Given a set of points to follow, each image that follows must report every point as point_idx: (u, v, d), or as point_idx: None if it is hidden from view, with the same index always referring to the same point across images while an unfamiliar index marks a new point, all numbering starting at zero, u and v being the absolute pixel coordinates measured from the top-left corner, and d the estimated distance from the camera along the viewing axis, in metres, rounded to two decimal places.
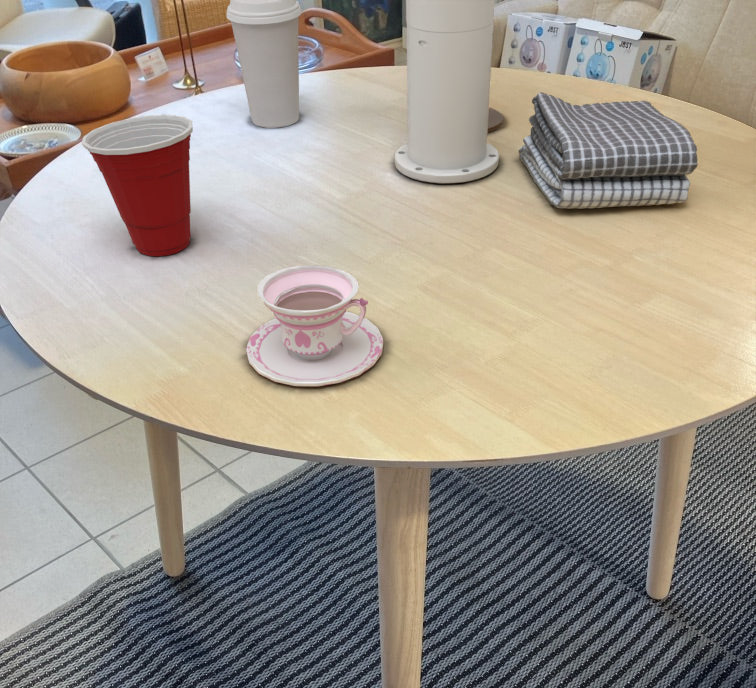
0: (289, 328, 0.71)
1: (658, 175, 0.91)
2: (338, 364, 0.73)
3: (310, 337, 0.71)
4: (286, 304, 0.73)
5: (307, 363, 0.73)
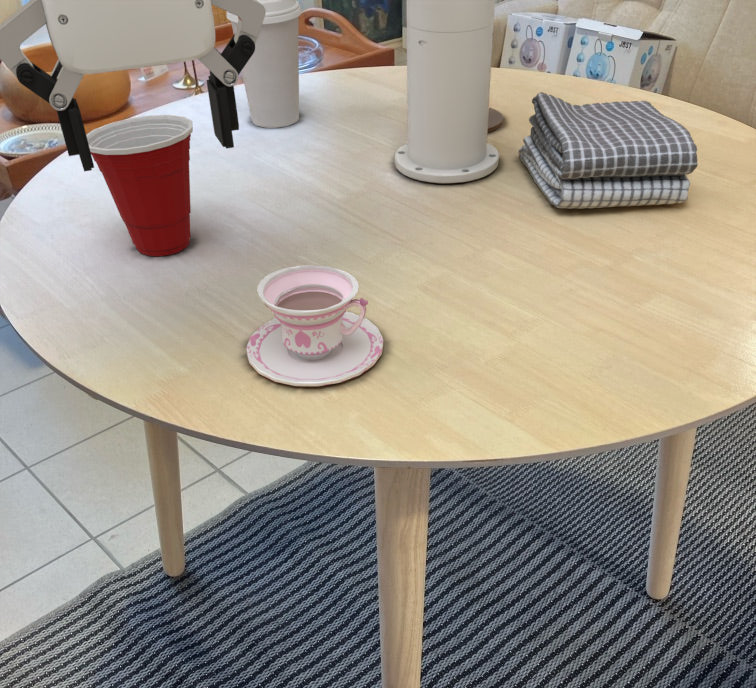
0: (289, 328, 0.71)
1: (658, 175, 0.91)
2: (338, 364, 0.73)
3: (310, 337, 0.71)
4: (286, 304, 0.73)
5: (307, 363, 0.73)
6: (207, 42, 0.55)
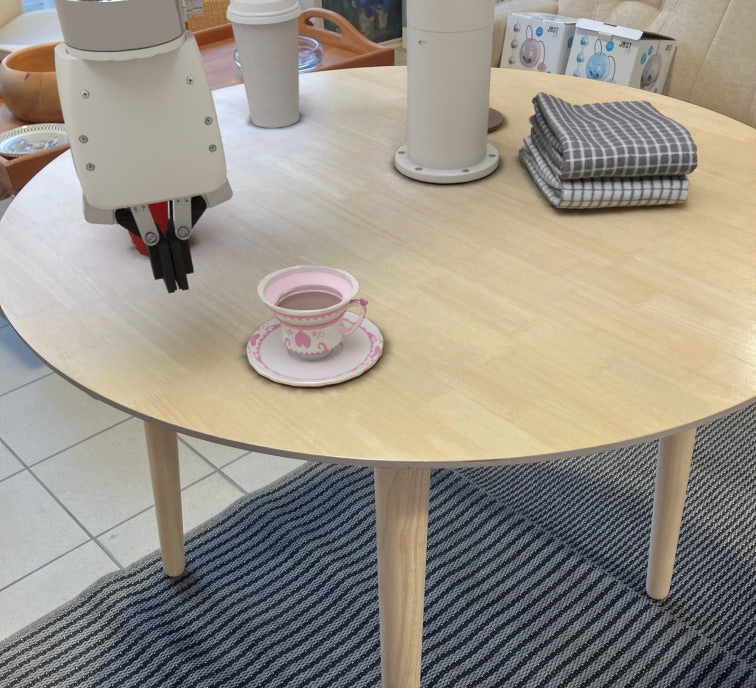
0: (289, 328, 0.71)
1: (658, 175, 0.91)
2: (338, 364, 0.73)
3: (310, 337, 0.71)
4: (286, 304, 0.73)
5: (307, 363, 0.73)
6: (219, 179, 0.61)
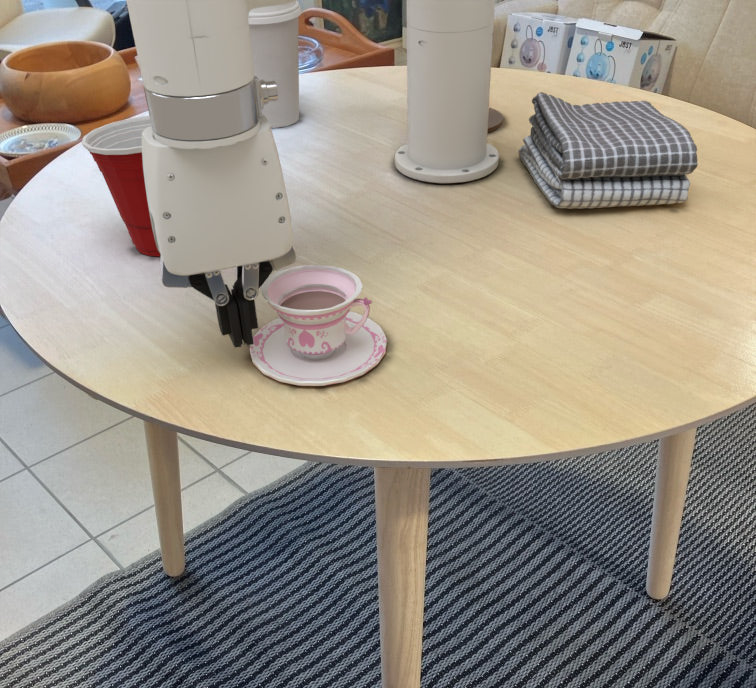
0: (293, 328, 0.71)
1: (658, 175, 0.91)
2: (341, 363, 0.73)
3: (314, 337, 0.71)
4: (289, 304, 0.73)
5: (311, 363, 0.73)
6: (286, 246, 0.66)
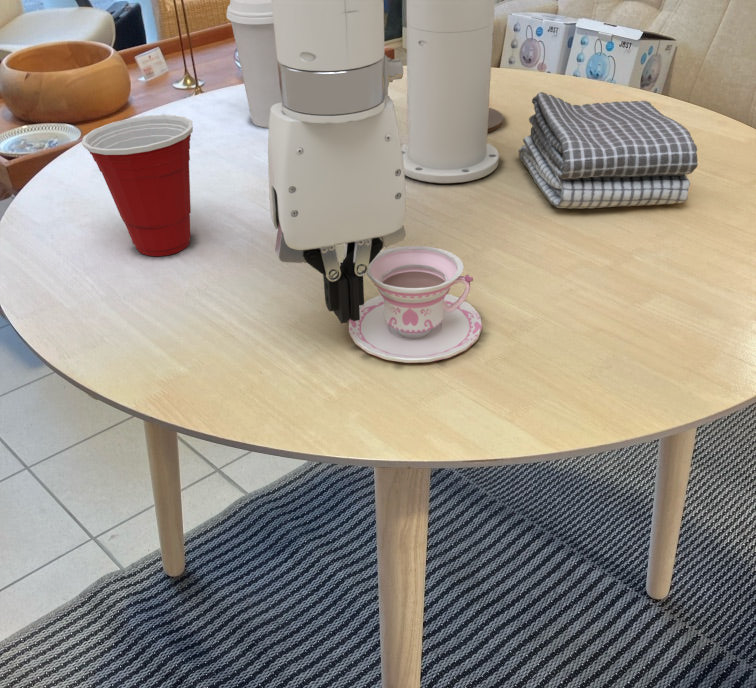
0: (398, 307, 0.73)
1: (658, 175, 0.91)
2: (442, 340, 0.75)
3: (418, 315, 0.73)
4: (389, 284, 0.75)
5: (411, 341, 0.75)
6: (399, 223, 0.67)
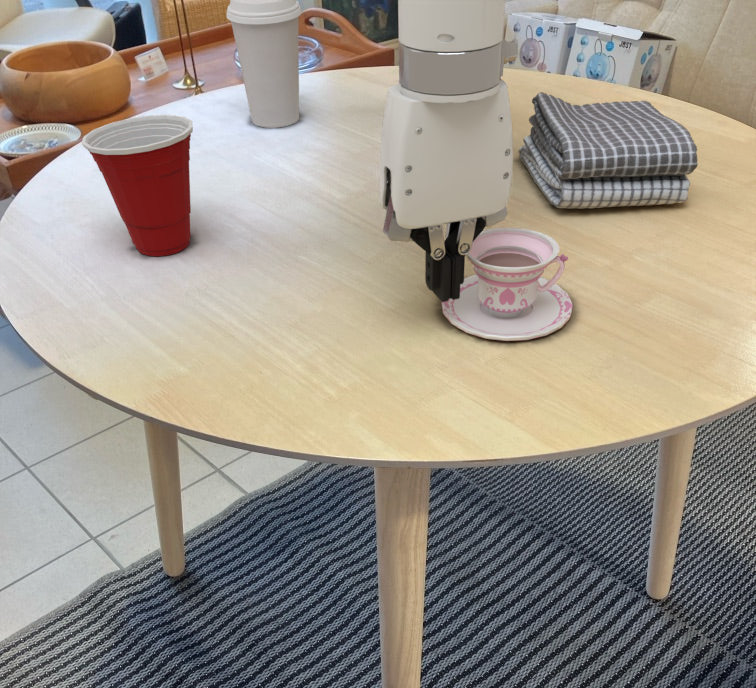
0: (496, 286, 0.75)
1: (658, 175, 0.91)
2: (536, 319, 0.77)
3: (515, 294, 0.75)
4: None
5: (506, 320, 0.77)
6: (504, 202, 0.69)
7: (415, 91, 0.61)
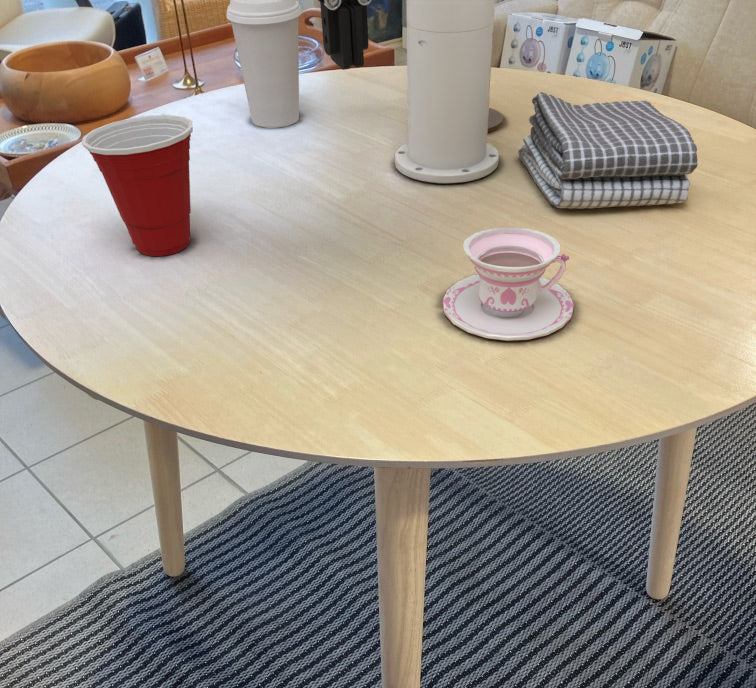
0: (497, 286, 0.75)
1: (658, 175, 0.91)
2: (537, 319, 0.77)
3: (516, 294, 0.75)
4: None
5: (507, 320, 0.77)
6: None
7: None
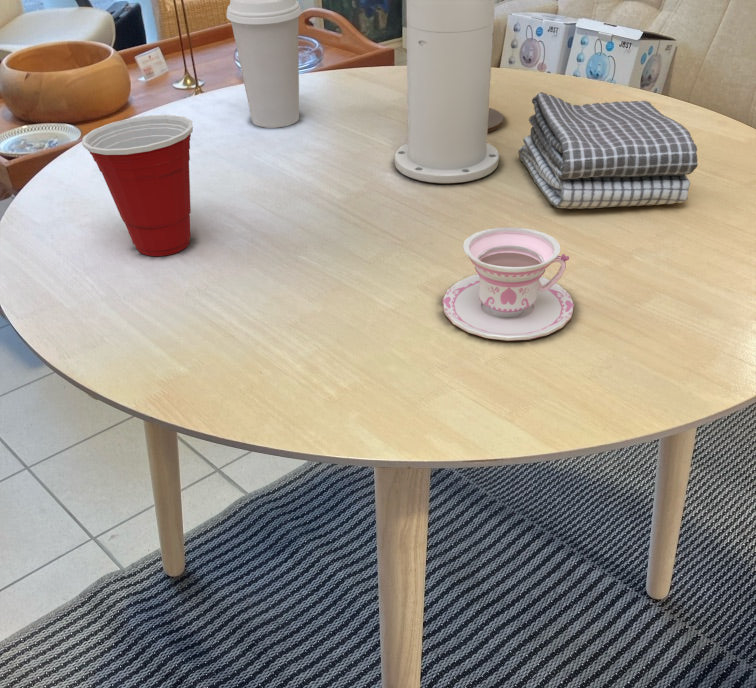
0: (497, 286, 0.75)
1: (658, 175, 0.91)
2: (537, 319, 0.77)
3: (516, 294, 0.75)
4: None
5: (507, 320, 0.77)
6: None
7: None
